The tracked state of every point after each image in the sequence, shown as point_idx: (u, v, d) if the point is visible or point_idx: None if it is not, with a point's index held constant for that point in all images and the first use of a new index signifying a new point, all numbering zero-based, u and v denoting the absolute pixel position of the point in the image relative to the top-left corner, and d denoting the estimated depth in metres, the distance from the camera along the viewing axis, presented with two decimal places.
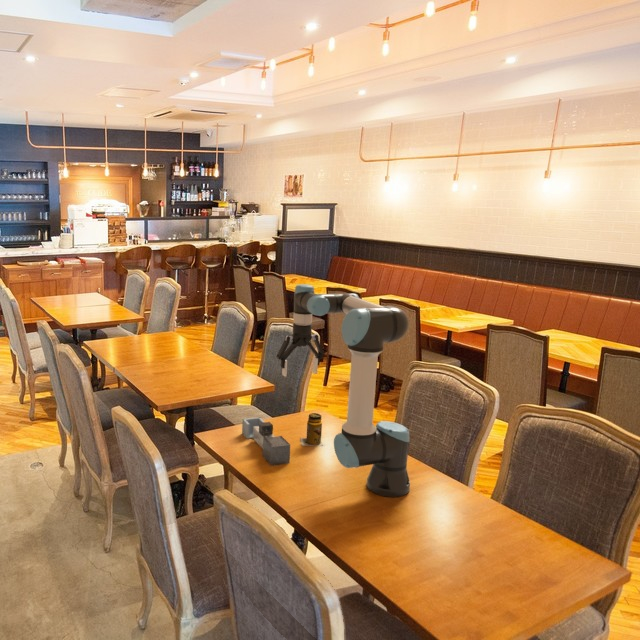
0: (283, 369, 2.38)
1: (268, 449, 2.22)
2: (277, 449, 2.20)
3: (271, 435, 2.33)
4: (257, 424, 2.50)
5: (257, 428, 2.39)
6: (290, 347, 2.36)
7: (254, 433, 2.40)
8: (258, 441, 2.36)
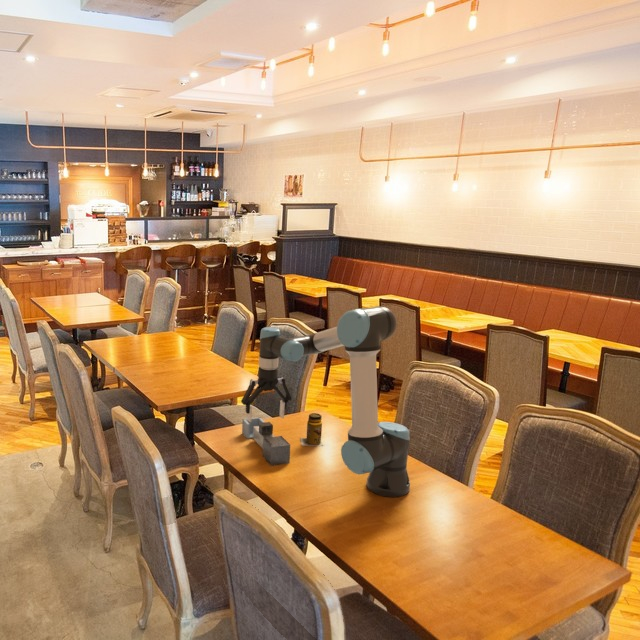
0: (248, 414, 2.30)
1: (268, 449, 2.22)
2: (277, 449, 2.20)
3: (271, 435, 2.33)
4: (257, 424, 2.50)
5: (257, 428, 2.39)
6: (255, 392, 2.29)
7: (254, 433, 2.40)
8: (258, 441, 2.36)
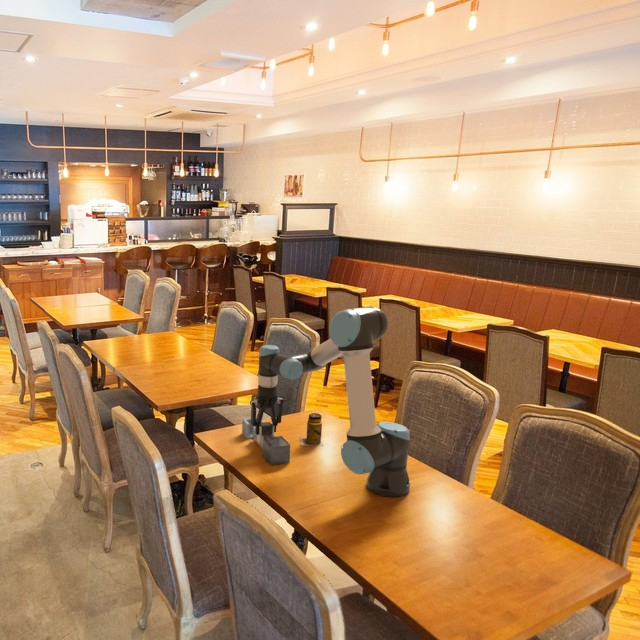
0: (258, 435, 2.34)
1: (268, 449, 2.22)
2: (277, 449, 2.20)
3: (271, 435, 2.33)
4: None
5: None
6: (259, 412, 2.32)
7: (254, 433, 2.40)
8: None
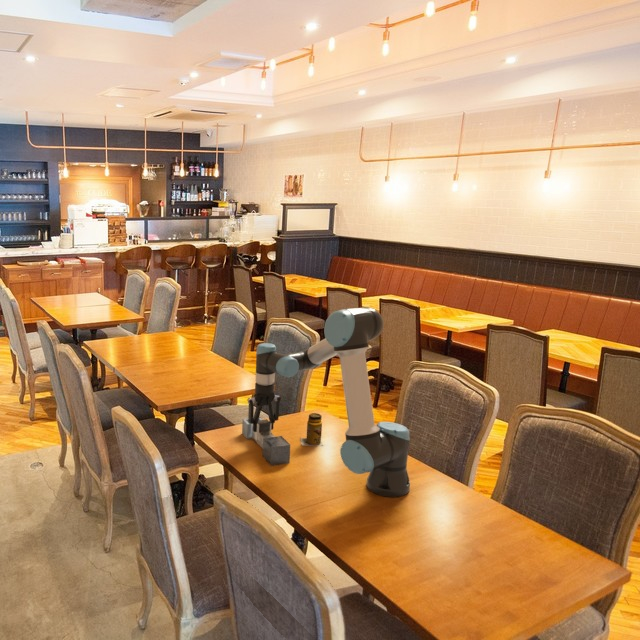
0: (255, 432, 2.36)
1: (268, 449, 2.22)
2: (277, 449, 2.20)
3: (268, 432, 2.35)
4: None
5: None
6: (257, 409, 2.34)
7: (252, 430, 2.42)
8: None
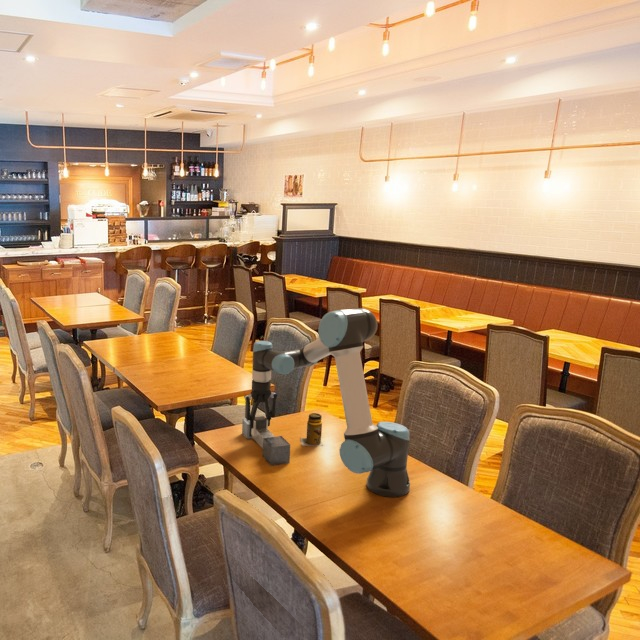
0: (252, 429, 2.40)
1: (268, 449, 2.22)
2: (277, 449, 2.20)
3: (265, 429, 2.39)
4: None
5: None
6: (253, 406, 2.37)
7: None
8: None
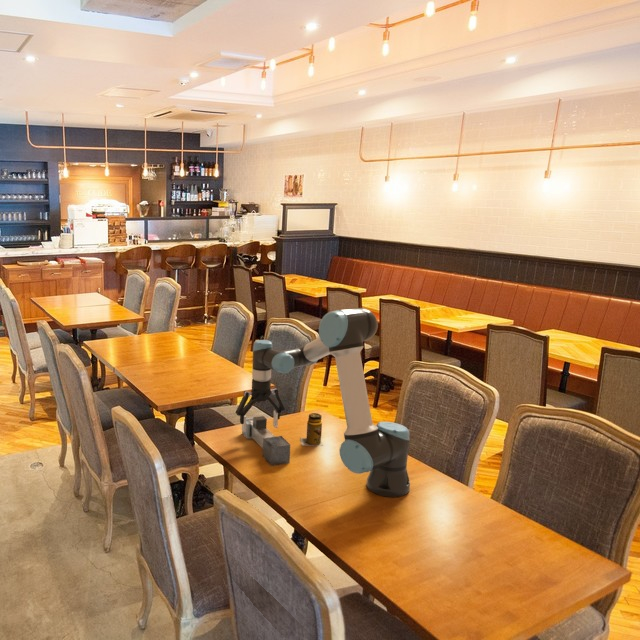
0: (242, 424, 2.37)
1: (268, 449, 2.22)
2: (277, 449, 2.20)
3: (265, 429, 2.39)
4: None
5: (251, 422, 2.45)
6: (249, 403, 2.36)
7: None
8: (252, 435, 2.42)
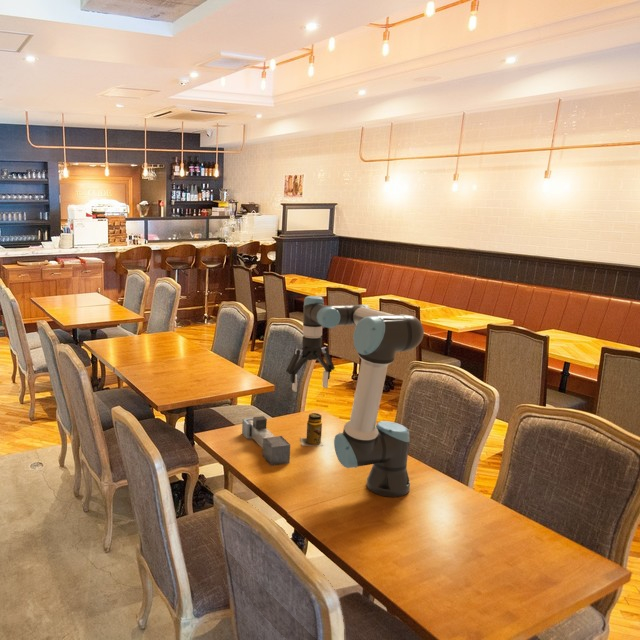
0: (293, 384, 2.30)
1: (268, 449, 2.22)
2: (277, 449, 2.20)
3: (265, 429, 2.39)
4: None
5: (251, 422, 2.45)
6: (300, 361, 2.29)
7: None
8: (252, 435, 2.42)
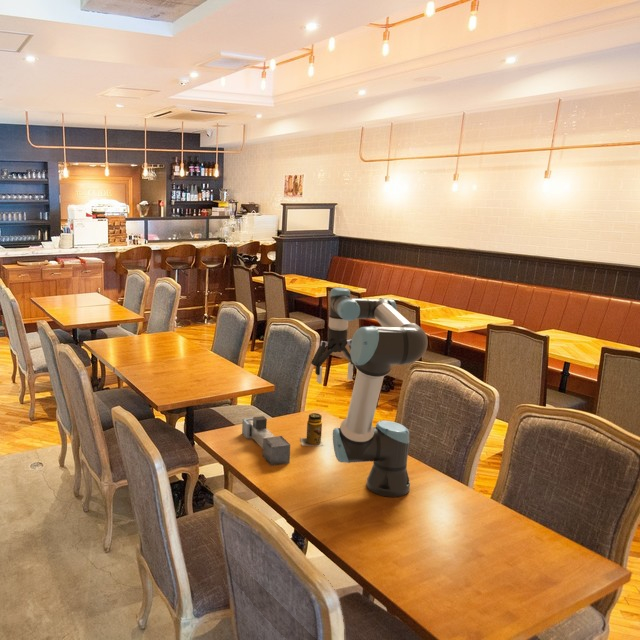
0: (318, 376, 2.29)
1: (268, 449, 2.22)
2: (277, 449, 2.20)
3: (265, 429, 2.39)
4: None
5: (251, 422, 2.45)
6: (325, 353, 2.28)
7: None
8: (252, 435, 2.42)
